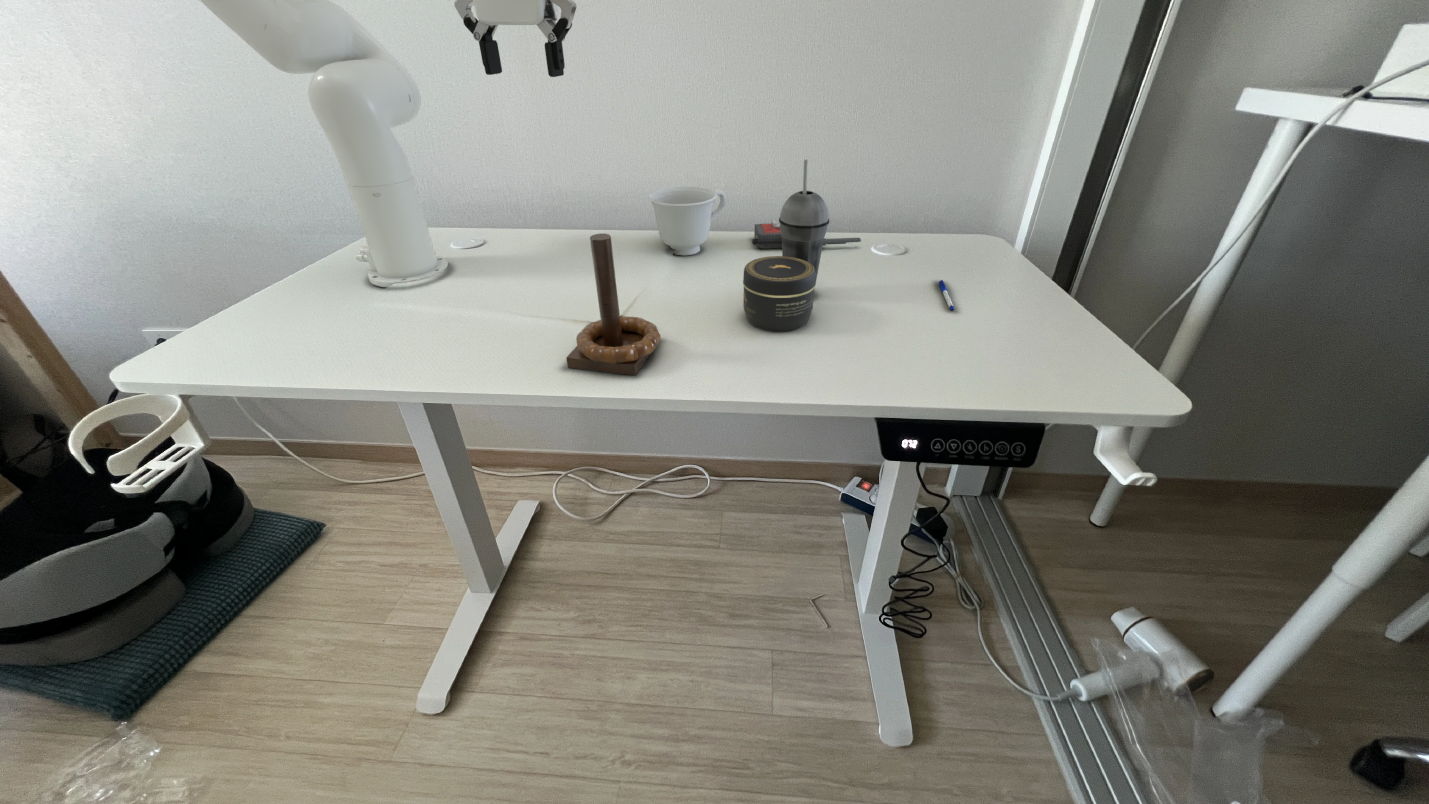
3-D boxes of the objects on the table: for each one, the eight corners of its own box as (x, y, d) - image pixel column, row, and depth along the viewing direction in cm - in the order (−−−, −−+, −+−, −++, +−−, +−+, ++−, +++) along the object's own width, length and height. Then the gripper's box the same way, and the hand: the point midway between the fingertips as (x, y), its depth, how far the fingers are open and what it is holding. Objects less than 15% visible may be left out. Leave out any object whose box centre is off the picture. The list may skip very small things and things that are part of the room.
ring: (563, 361, 72) (561, 346, 71) (598, 324, 80) (596, 310, 79) (643, 370, 70) (642, 355, 69) (670, 331, 78) (669, 317, 77)
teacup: (742, 250, 108) (743, 194, 103) (672, 266, 102) (668, 208, 96) (708, 233, 117) (707, 181, 111) (641, 247, 110) (636, 192, 105)
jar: (732, 309, 87) (733, 259, 83) (794, 299, 90) (797, 251, 85) (757, 338, 79) (759, 285, 75) (824, 327, 82) (829, 275, 77)
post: (567, 367, 73) (546, 247, 65) (596, 335, 81) (580, 222, 72) (635, 375, 72) (622, 252, 63) (658, 341, 79) (650, 227, 70)
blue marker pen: (936, 284, 94) (937, 278, 94) (942, 284, 94) (943, 278, 94) (949, 311, 86) (951, 305, 85) (956, 312, 86) (957, 305, 85)
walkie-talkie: (753, 253, 107) (861, 249, 108) (754, 229, 104) (864, 225, 105) (747, 238, 114) (848, 234, 115) (748, 215, 111) (851, 211, 113)
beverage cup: (827, 289, 93) (841, 155, 82) (814, 307, 87) (827, 165, 76) (784, 282, 95) (791, 151, 84) (768, 299, 90) (774, 161, 79)
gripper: (578, -82, 73) (593, 74, 83) (458, -79, 77) (485, 71, 86) (549, -91, 67) (569, 79, 77) (420, -86, 71) (454, 75, 80)
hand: (525, 75), depth 82 cm, fingers open, 9 cm apart
